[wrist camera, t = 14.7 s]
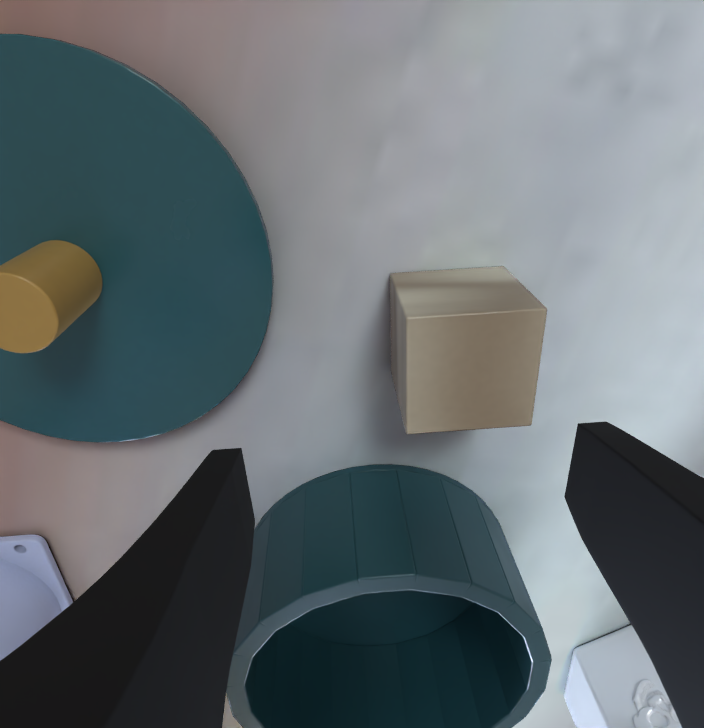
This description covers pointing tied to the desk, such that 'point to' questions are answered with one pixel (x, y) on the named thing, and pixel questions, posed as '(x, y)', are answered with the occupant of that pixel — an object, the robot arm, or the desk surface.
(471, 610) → the tin
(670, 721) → the jar
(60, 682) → the robot arm
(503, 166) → the desk surface
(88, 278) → the lid
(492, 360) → the block
